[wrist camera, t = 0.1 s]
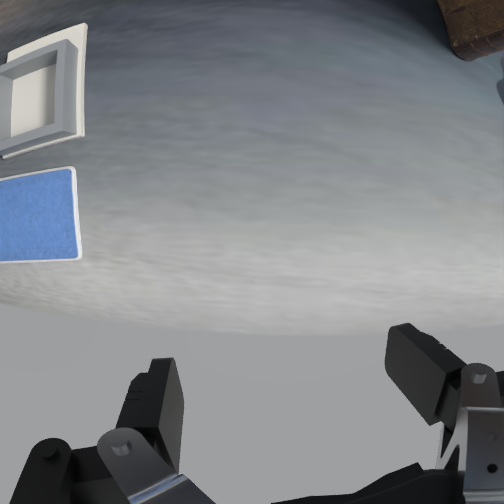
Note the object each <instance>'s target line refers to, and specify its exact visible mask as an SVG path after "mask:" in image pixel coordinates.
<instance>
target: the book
mask: <svg viewBox="0 0 504 504" xmlns="http://www.w3.org/2000/svg"><path fill="white" fill-rule="evenodd" d="M436 2H437V4H438V6H439V9H440V11H441V13H442V16H443V19H444V22H445V25H446V28H447V32H448V37H449V41H450V44H451V47H452V49H453V50H454V51H455V53H456V54H457V55H458V56H459V57H461V58H463V59H464V60H467V61H472V60H475V59H477V58H479V57H482V56H488V55H489V54H491V53H494V52H498V51H503V50H504V0H436Z"/></svg>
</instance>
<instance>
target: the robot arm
mask: <svg viewBox="0 0 504 504" xmlns="http://www.w3.org/2000/svg"><path fill="white" fill-rule="evenodd" d="M385 369H386V372H387V374H388V376H389V377H390V378H391V379H392V380H393V382H394V383H395V384H396V385H397V386H398V388H399V389H400V390H401V391H402V393H403V394H404V395H405V396H406V398H407V399H408V400H409V401H410V402H411V404H412V405H413V406H414V407H415V408H416V410H417V411H418V412H419V414H421V416H422V417H423V418H424V419H425V421H426V422H427V423H428V425H429V426H430V425H433V424H435V423H437V422H440V421H442V422H443V425H442V428H441V433H440V441H439V448H438V455H437V462H436V467H435V469H429V470H423V469H422V468H421V466H420V465H419V463H418V462H417V463H414V464H412V465H410V466H407V467H405V468H402V469H400V470H397V471H394V472H392V473H389V474H386V475H385V476H383V477H381V478H380V479H378V480H376V481H375V482H373V483H371V484H370V485H368V486H366V487H364V488H363V489H361V490H359V491H357V492H355V493H353V494H344V495H328V496H308V497H304V498H299V499H293V500H288V501H282V502H276V503H271V504H504V371H500V372H495V371H494V370H493V369H492V368H491V367H489V366H487V365H485V364H481V363H471V364H468V365H467V364H466V363H465V362H463V361H462V360H461V359H460V358H459V357H457V356H456V355H455V354H454V353H452V352H451V351H450V350H449V349H446V347H445V346H444V345H443V344H440V342H439V341H438V340H436V339H435V338H434V337H433V336H430V335H428V334H426V333H423V332H420V331H419V330H418V329H417V328H415V327H414V326H413V325H412V324H410V323H404V324H400V325H396V326H392V327H391V328H390V329H389V332H388V340H387V348H386V356H385ZM183 413H184V398H183V392H182V388H181V384H180V380H179V376H178V371H177V368H176V363H175V360H174V358H157V359H152V362H151V365H150V368H149V371H148V373H139V374H138V375H137V376H136V377H135V378H134V379H133V380H132V381H131V384H130V386H129V389H128V393H127V395H126V398H125V401H124V404H123V407H122V410H121V412H120V415H119V419H118V421H117V424H116V428H115V429H113V430H110V431H108V432H107V433H105V434H104V435H103V436H102V437H101V438H100V439H99V441H98V443H97V446H93V447H88V448H81V449H74V450H72V449H71V448H70V446H69V445H68V443H67V442H65V441H64V440H62V439H58V438H48V439H45V440H42V441H40V442H39V443H37V444H36V445H35V446H34V447H33V448H32V450H31V452H30V454H29V457H28V459H27V461H26V464H25V466H24V468H23V471H22V473H21V475H20V478H19V481H18V483H17V486H16V488H15V490H14V493H13V496H12V498H11V501H10V504H216V503H214V502H213V501H212V500H211V499H210V498H209V497H208V496H207V495H206V494H204V493H203V492H202V491H201V490H200V489H199V488H198V487H197V486H196V485H195V484H194V483H193V482H192V481H191V480H190V479H188V478H187V477H186V476H185V475H183V474H181V475H178V473H179V459H180V446H181V435H182V424H183Z"/></svg>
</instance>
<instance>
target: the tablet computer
mask: <svg viewBox="0 0 504 504" xmlns="http://www.w3.org/2000/svg"><path fill="white" fill-rule="evenodd" d="M81 257H82V245H81V236H80V226H79V214H78V200H77V180H76V170H75V168H74V167H72V166H66V167H59V168H53V169H46V170H41V171H35V172H30V173H24V174H19V175H14V176H10V177H5V178H0V264H1V263H29V262H54V261H76V260H79V259H81Z"/></svg>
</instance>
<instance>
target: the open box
mask: <svg viewBox="0 0 504 504" xmlns="http://www.w3.org/2000/svg"><path fill="white" fill-rule="evenodd" d="M87 28H88V26H87V25H86V24H85V23H82V24H79V25H76V26H73V27H70V28H67V29H64V30H61V31H59V32H56V33H53V34H51V35H48V36H45V37H43V38H40V39H38V40H36V41H33V42H31V43H28V44H26V45H24V46H22V47H19V48H17V49H15V50H13V51H11V52H9V53H8V59H7V63H5V64H3V65H1V66H0V155H3V159H8V158H11V157H14V156H17V155H20V154H23V153H27V152H30V151H33V150H37V149H40V148H43V147H47V146H50V145H54V144H58V143H62V142H65V141H69V140H73V139H77V138H82V137H85V131H84V72H85V52H86V39H87Z"/></svg>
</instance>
